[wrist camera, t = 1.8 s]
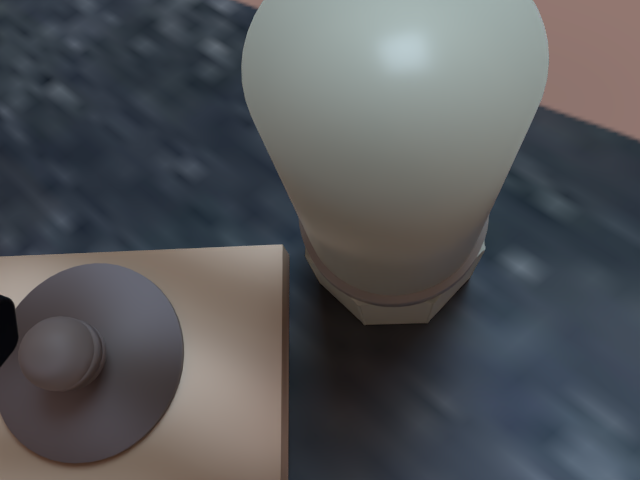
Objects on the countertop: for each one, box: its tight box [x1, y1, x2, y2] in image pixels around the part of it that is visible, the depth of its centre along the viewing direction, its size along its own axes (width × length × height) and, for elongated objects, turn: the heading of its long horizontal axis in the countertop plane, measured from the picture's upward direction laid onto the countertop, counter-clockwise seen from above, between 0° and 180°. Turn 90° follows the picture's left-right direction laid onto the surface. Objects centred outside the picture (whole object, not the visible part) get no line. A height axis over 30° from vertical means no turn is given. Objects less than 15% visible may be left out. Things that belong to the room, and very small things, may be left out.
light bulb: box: [241, 0, 549, 325], centre depth 17 cm, size 6×6×13 cm
